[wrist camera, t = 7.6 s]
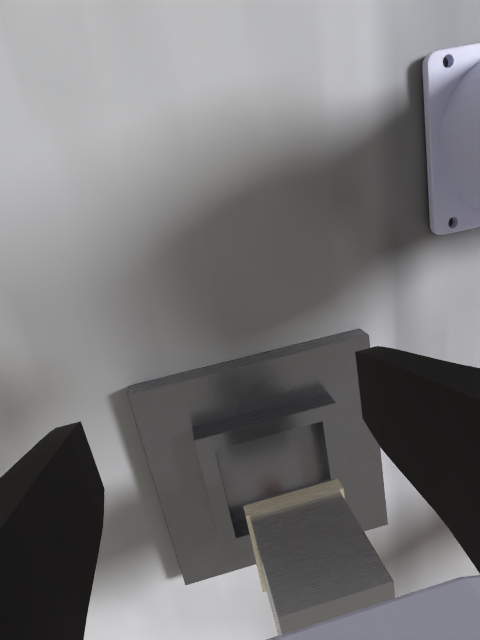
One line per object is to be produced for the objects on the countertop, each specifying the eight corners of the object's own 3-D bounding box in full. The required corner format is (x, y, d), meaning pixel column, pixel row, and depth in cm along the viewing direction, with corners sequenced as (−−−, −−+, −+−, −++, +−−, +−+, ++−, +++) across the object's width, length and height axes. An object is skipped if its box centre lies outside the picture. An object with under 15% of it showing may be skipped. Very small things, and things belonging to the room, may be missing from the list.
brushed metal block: (335, 474, 19) (397, 576, 14) (345, 548, 20) (405, 664, 15) (241, 500, 18) (272, 615, 14) (258, 574, 20) (292, 703, 15)
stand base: (360, 328, 23) (402, 359, 19) (379, 512, 27) (418, 569, 23) (129, 386, 22) (122, 431, 18) (184, 570, 26) (189, 641, 22)
